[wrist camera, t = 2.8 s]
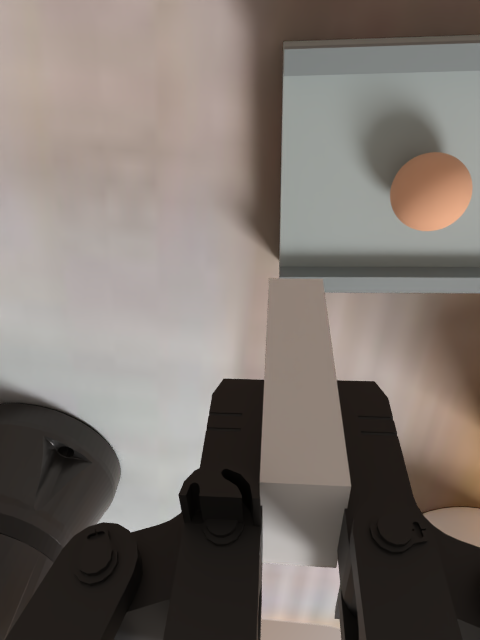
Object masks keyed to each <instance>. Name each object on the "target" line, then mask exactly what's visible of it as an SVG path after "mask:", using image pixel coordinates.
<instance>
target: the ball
mask: <svg viewBox="0 0 480 640" xmlns="http://www.w3.org/2000/svg"><path fill="white" fill-rule="evenodd" d="M472 189H473V185H472V179H471V175H470V173H469V171H468V169H467V168H466V166H465V165H464V164H463V163H462V162H461V161H460V160H459V159H457V158H456V157H454V156H452V155H449V154H446V153H441V152H430V153H425V154H422V155H419V156H416V157H414V158H413V159H411V160H409V161H408V162H407V163H406V164H404V165H403V166H402V167H401V169H400V170H399V171H398V173H397V174H396V176H395V178H394V180H393V182H392V185H391V189H390V202H391V206H392V209H393V211H394V213H395V215H396V216H397V218H398V219H399V220H400V221H401V222H402V223H404V224H405V225H406V226H408V227H410V228H412V229H415V230H419V231H435V230H439V229H442V228H445V227H447V226H449V225H451V224H452V223H454V222H455V221H456V220H458V219H459V218H460V217H461V216H462V214H463V213H464V212H465V210H466V209H467V207H468V205H469V203H470V200H471V197H472Z"/></svg>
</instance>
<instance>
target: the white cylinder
mask: <svg viewBox="0 0 480 640" xmlns="http://www.w3.org/2000/svg"><path fill="white" fill-rule="evenodd" d="M423 515H424V517H425V518H426V519H427V520H428V521H429V522H430V523H431V524H432V525H433V526H435V527H436V528H438V529H439V530H441V531H442V532H443V533H445V534H447V535H449V536H451V537H453V538H456V539H458V540H461V541H463V542H466V543H469V544H472V545H475V546H477V547H480V509H479V508H471V507H451V508H442V509H437V510H433V511H428V512H426V513H423Z"/></svg>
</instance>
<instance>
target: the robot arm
mask: <svg viewBox="0 0 480 640" xmlns="http://www.w3.org/2000/svg"><path fill="white" fill-rule="evenodd" d="M120 475H121V468H120V463H119V460H118V458H117V456H116V454H115V452H114V451H113V449H112V448H111V446H110V445H109V444H108V443H107V442H106V441H105V440H104V439H103V438H102V437H101V436H100V435H99V434H98V433H97V432H95V431H94V430H93V429H91V428H90V427H88V426H87V425H85V424H83V423H82V422H80V421H78V420H76V419H74V418H72V417H70V416H68V415H65V414H63V413H60V412H58V411H55V410H51V409H48V408H44V407H40V406H35V405H29V404H17V403H7V404H0V640H260V637H261V605H262V563H265V564H281V565H298V566H315V567H332V568H336V566H337V561H338V564H339V575H340V588H339V593H338V598H337V602H336V609H335V619H340V628H341V638H342V639H341V640H480V547H477V546H475V545H472V544H469V543H466V542H463V541H461V540H458V539H456V538H453V537H451V536H449V535H447V534H445V533H443V532H442V531H441V530H439V529H438V528H436V527H435V526H433V525H432V524H431V523H430V522H429V521H428V520H427V519H426V518H425V517H424V515H423V514H422V512H421V511H420V509H419V508H418V506H417V504H416V502H415V499H414V497H413V494H412V490H411V486H410V482H409V478H408V474H407V470H406V466H405V462H404V458H403V455H402V451H401V447H400V443H399V439H398V437H397V431H396V427H395V423H394V421H393V416H392V412H391V408H390V404H389V400H388V397H387V396H386V395H385V394H384V392H383V391H382V390H381V389H380V388H379V386H378V385H377V384H376V383H375V382H374V381H337V379H336V372H335V365H334V358H333V350H332V343H331V336H330V328H329V321H328V314H327V307H326V299H325V292H324V285H323V279H282V278H269V289H268V311H267V333H266V354H265V376H264V380H251V379H223V380H222V382H221V383H220V385H219V386H218V387H217V389H216V390H215V391H214V393H213V394H212V400H211V406H210V411H209V417H208V423H207V431H206V435H205V441H204V446H203V452H202V458H201V464H200V468H199V469H197V470H195V471H194V472H193V473H192V474H191V475H190V476H189V477H188V478H187V479H186V480H185V481H184V483H183V486H182V488H181V490H180V493H179V500H180V505H181V510H182V512H181V513H180V514H179V515H177V516H176V517H174V518H173V519H171V520H170V521H167V522H165V523H162V524H160V525H156V526H153V527H149V528H146V529H142V530H138V531H135V532H131V533H130V531H129V530H127V529H126V528H124V527H122V526H121V525H119V524H114V523H104V522H103V523H100V524H97V523H98V521H99V520H100V519H101V517H102V516H103V514H104V513H105V512H106V510H107V509H108V508H109V506H110V504H111V503H112V501H113V498H114V496H115V492H116V489H117V486H118V483H119V480H120Z"/></svg>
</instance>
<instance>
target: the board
mask: <svg viewBox="0 0 480 640" xmlns="http://www.w3.org/2000/svg"><path fill="white" fill-rule="evenodd" d="M430 152H441V153H446V154H449V155H452V156H454V157H456V158H457V159H459V160H460V161H461V162H462V163H463V164H464V165H465V166H466V168H467V169H468V171H469V173H470V175H471V179H472V185H473V189H472V197H471V200H470V203H469V205H468V207H467V209H466V210H465V212H464V213H463V214H462V216H461V217H460V218H459V219H458V220H456V221H455V222H454V223H452V224H451V225H449V226H447V227H445V228H442V229H439V230H435V231H419V230H415V229H412V228H410V227H408V226H406V225H405V224H404V223H402V222H401V221H400V220H399V219H398V218H397V216H396V215H395V213H394V211H393V209H392V206H391V202H390V189H391V185H392V182H393V180H394V178H395V176H396V174H397V173H398V171H399V170H400V169H401V167H402V166H403V165H404V164H406V163H407V162H408V161H409V160H411V159H413V158H414V157H416V156H419V155H422V154H425V153H430ZM279 278H282V279H323V285H324V292H339V293H480V35H456V36H427V37H398V38H368V39H339V40H310V41H283V82H282V137H281V192H280V247H279Z"/></svg>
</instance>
